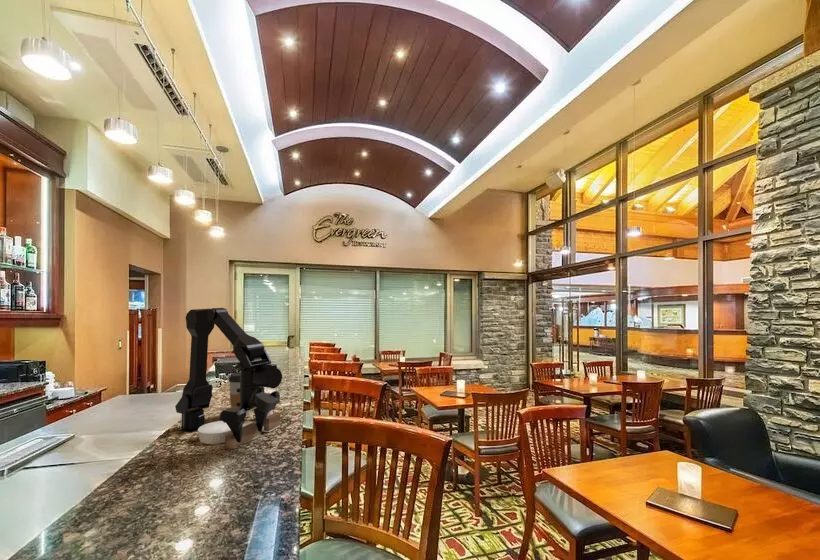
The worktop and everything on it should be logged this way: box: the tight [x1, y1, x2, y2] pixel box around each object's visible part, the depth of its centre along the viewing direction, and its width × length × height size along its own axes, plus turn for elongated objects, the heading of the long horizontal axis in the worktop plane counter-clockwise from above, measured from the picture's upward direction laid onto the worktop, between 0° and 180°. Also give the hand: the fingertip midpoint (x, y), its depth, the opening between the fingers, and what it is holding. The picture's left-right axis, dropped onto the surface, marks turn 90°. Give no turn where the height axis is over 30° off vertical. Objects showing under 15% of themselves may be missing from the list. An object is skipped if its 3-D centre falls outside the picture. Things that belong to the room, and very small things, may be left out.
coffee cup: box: [228, 371, 251, 416], centre depth 151 cm, size 8×8×15 cm
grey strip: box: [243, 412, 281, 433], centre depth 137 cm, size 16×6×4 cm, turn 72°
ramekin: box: [197, 420, 232, 445], centre depth 126 cm, size 11×11×5 cm
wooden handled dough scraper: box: [224, 420, 261, 450], centre depth 125 cm, size 16×13×4 cm
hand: (249, 436), depth 122 cm, fingers open, 9 cm apart
